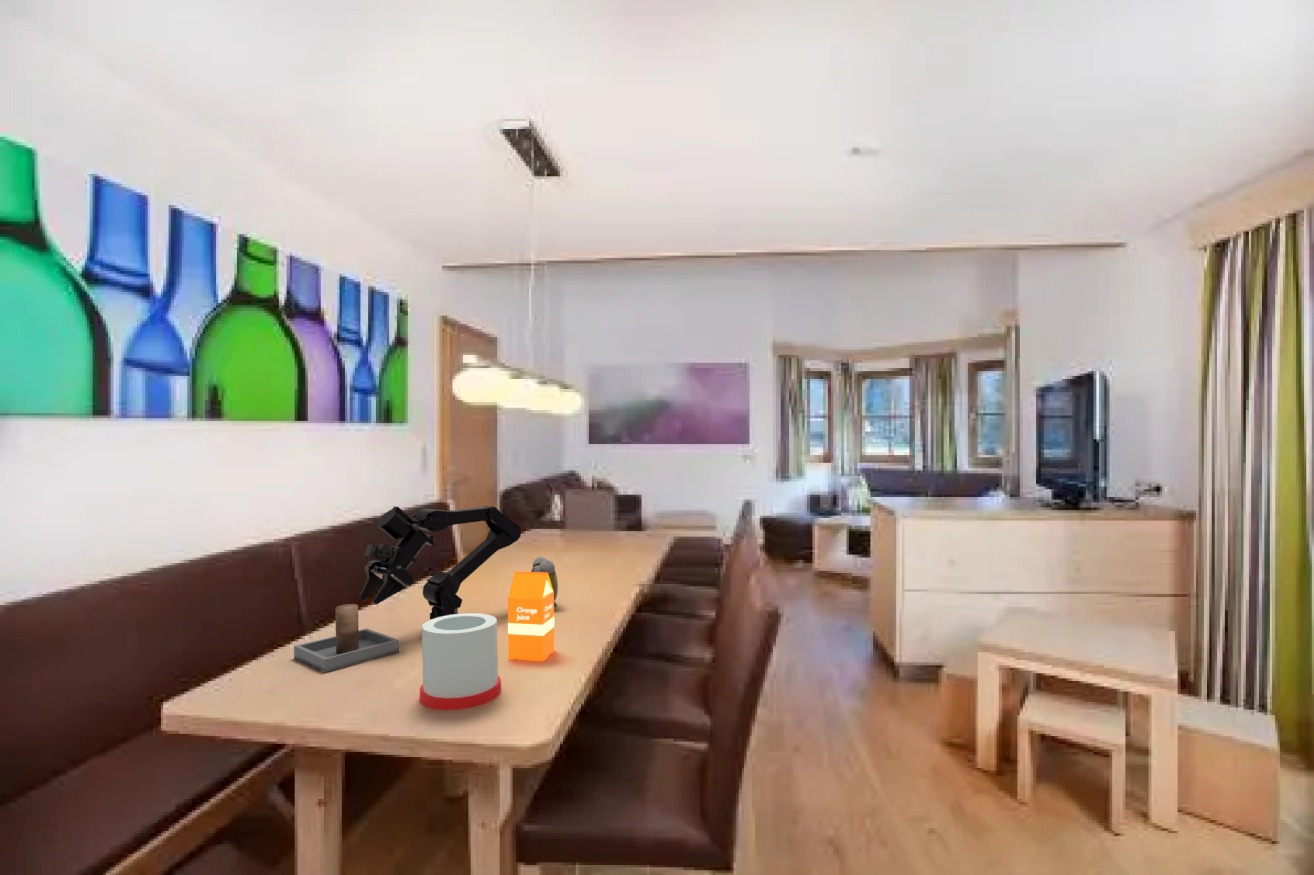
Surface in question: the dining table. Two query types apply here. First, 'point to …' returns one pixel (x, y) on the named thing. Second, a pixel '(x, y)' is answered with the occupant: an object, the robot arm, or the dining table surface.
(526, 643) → the orange juice
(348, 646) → the brown upright cylinder
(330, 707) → the dining table surface
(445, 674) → the container
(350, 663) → the tray
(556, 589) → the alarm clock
